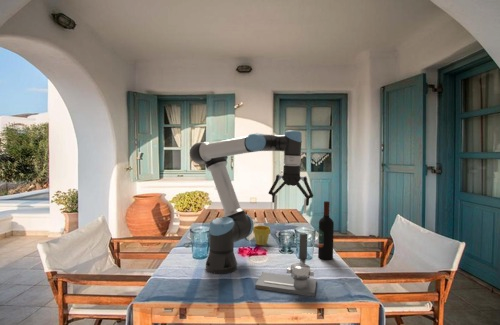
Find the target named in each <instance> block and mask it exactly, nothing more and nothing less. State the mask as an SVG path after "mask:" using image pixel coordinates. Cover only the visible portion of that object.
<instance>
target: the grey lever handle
mask: <svg viewBox="0 0 500 325" xmlns="http://www.w3.org/2000/svg"><path fill="white" fill-rule="evenodd" d="M298 250H299V252H298V254H299V256H298V259H299V262H298V263H297V262H296V263H292V264H291V265H290V267H287V268H286V274H288V275H290V276H291V277H292V278H293V279H295V280H300V281H304V280H308V279H309V278H311V277H314V276H315V270H314V269H311V266H309V265H308V264H306V262H307V259H308V234H307V233H306V232H300V233H299V248H298Z"/></svg>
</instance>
